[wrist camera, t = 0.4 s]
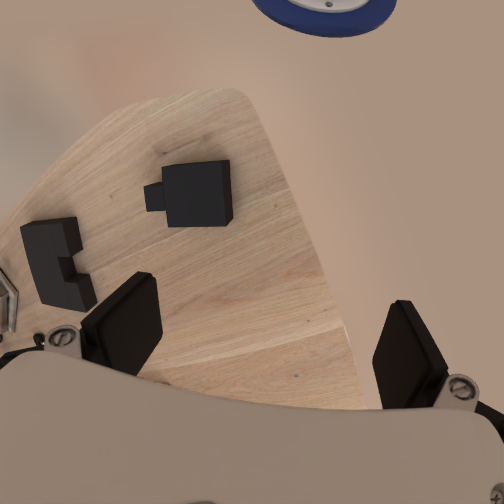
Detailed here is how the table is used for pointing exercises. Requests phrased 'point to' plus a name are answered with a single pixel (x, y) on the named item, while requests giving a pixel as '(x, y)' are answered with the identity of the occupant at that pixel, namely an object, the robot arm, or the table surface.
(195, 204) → the pad
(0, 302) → the packaged product
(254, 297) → the table surface
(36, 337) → the micrometer
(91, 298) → the base pad
